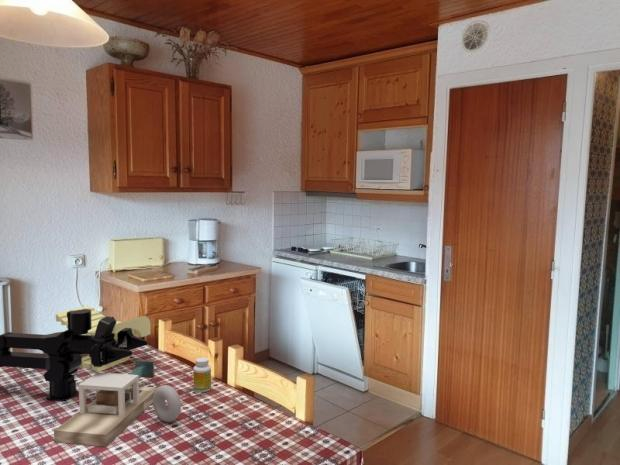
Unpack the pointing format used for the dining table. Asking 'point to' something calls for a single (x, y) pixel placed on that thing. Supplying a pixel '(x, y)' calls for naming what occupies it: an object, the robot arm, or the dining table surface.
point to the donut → (172, 399)
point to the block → (107, 397)
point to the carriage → (141, 369)
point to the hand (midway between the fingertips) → (139, 347)
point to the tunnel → (110, 388)
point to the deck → (102, 422)
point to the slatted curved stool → (137, 325)
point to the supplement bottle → (202, 375)
